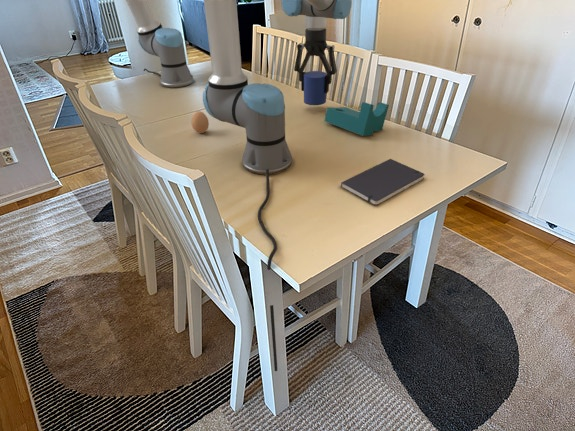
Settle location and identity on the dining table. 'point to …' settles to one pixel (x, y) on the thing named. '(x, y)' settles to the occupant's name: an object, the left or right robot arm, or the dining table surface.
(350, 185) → the notebook
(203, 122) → the egg
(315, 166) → the dining table surface
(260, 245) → the dining table surface
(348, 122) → the teal l-shaped bracket
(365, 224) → the dining table surface
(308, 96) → the canister
